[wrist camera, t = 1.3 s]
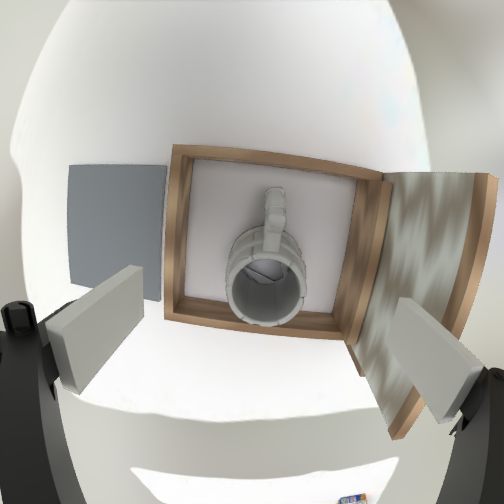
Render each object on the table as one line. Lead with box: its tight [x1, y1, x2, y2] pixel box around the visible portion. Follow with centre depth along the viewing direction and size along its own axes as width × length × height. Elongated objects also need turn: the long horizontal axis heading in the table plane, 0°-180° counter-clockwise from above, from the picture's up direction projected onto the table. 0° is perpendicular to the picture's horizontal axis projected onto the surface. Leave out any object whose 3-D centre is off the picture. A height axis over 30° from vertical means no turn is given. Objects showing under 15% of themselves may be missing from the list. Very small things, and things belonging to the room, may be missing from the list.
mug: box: [226, 187, 307, 327], centre depth 25 cm, size 8×12×12 cm, turn 174°
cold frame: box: [164, 144, 498, 440], centre depth 21 cm, size 19×21×19 cm
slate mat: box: [67, 165, 167, 302], centre depth 30 cm, size 16×14×1 cm
